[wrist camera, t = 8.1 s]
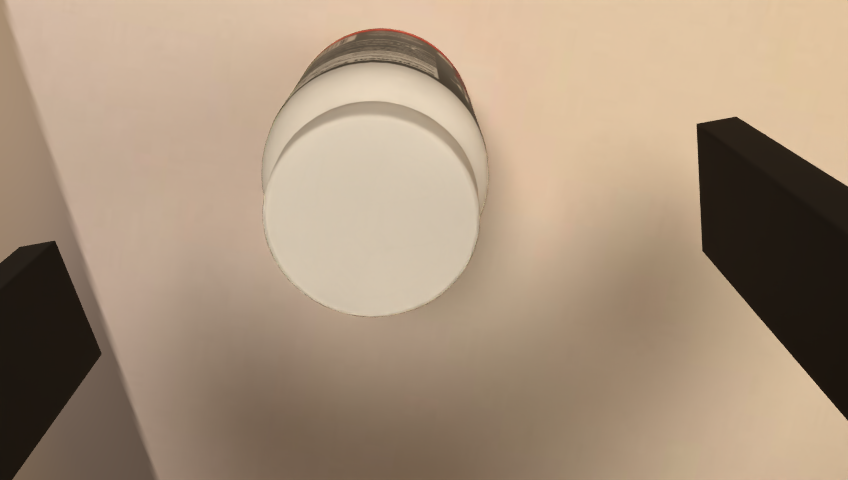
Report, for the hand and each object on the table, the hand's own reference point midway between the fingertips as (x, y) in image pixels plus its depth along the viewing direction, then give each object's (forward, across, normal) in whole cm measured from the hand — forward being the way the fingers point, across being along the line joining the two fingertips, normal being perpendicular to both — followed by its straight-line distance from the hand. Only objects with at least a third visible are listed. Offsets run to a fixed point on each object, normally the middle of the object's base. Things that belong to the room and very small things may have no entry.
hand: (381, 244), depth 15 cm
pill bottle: (+11, 0, 0) cm, 11 cm away
